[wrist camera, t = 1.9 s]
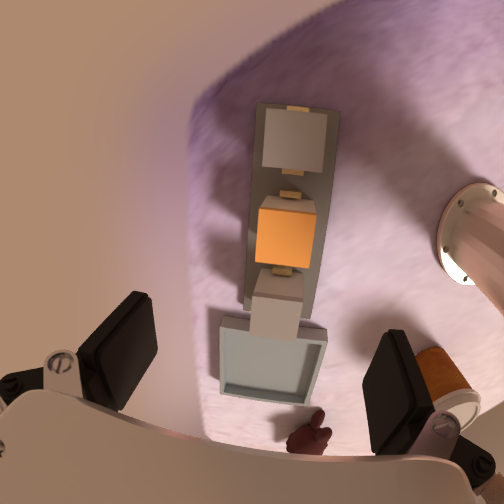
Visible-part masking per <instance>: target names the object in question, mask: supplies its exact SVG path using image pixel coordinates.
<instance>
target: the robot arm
mask: <svg viewBox="0 0 504 504" xmlns="http://www.w3.org/2000/svg"><path fill="white" fill-rule="evenodd" d="M437 251H438V257H439V260H440V263H441V265H442V267H443V269H444V270H445V271H446V273H447V274H448V275H449V276H450V277H451V278H452V279H453V280H454V281H456V282H458V283H460V284H465V285H476V286H477V287H478V288H479V289H480V290H481V291H482V292H483V293H484V294H485V296H486V297H487V298H488V299H489V300H490V301H491V302H492V303H493V304H494V306H495V307H496V308H497V309H498V310H499V311H500V313H501V314H502V315H503V316H504V193H503V192H502V191H501V190H500V189H498V188H497V187H495V186H493V185H490V184H487V183H473V184H470V185H468V186H466V187H464V188H463V189H461V190H460V191H458V193H457V194H456V195H455V196H454V197H453V198H452V199H451V200H450V202H449V203H448V205H447V206H446V208H445V210H444V213H443V215H442V217H441V220H440V223H439V227H438V233H437ZM157 350H158V346H157V339H156V332H155V324H154V317H153V308H152V300H151V298H149V297H148V294H146V293H143V292H138V291H133V292H132V293H131V294H130V295H129V296H128V297H127V298H126V299H125V300H124V301H123V302H122V303H121V304H120V305H119V306H118V307H117V308H116V309H115V310H114V311H113V312H112V313H111V314H110V315H109V316H108V317H107V318H106V319H105V320H104V321H103V323H102V324H101V325H100V326H99V327H98V328H97V329H96V330H95V331H94V332H93V333H92V334H91V335H90V336H89V338H88V339H87V340H86V341H85V342H84V343H83V344H82V345H81V346H80V347H79V349H78V351H77V353H76V354H75V353H73V352H72V351H69V350H58V351H55V352H53V353H51V354H50V355H49V356H48V357H47V358H46V360H45V361H44V367H41V368H37V369H31V370H26V371H20V372H15V373H10V374H7V375H6V376H4V377H3V378H2V379H1V380H0V504H504V477H503V476H502V475H501V473H500V472H498V473H497V474H496V473H495V468H496V465H495V461H494V458H493V457H492V455H491V454H489V453H488V452H487V451H485V450H483V449H482V448H480V447H479V446H477V445H475V444H474V443H472V442H470V441H469V440H467V439H465V438H464V437H462V436H461V435H460V431H461V425H460V422H459V420H458V419H457V417H456V416H455V415H453V414H452V413H451V412H448V411H444V410H439V411H435V408H434V405H433V402H432V399H431V396H430V394H429V391H428V388H427V385H426V383H425V380H424V377H423V375H422V372H421V370H420V367H419V365H418V363H417V361H416V358H415V356H414V353H413V351H412V349H411V346H410V344H409V342H408V339H407V337H406V335H405V332H404V331H403V330H396V329H389V330H388V332H385V333H384V334H383V336H382V338H381V341H380V343H379V346H378V348H377V350H376V353H375V355H374V357H373V359H372V362H371V364H370V366H369V368H368V370H367V373H366V375H365V377H364V379H363V383H362V388H363V394H364V400H365V406H366V413H367V420H368V427H369V435H370V443H371V450H372V452H373V453H375V455H376V456H324V455H306V454H293V453H283V452H274V451H267V450H259V449H253V448H246V447H241V446H235V445H230V444H225V443H220V442H215V441H211V440H206V439H202V438H198V437H194V436H190V435H186V434H182V433H179V432H175V431H172V430H168V429H165V428H162V427H159V426H156V425H152V424H149V423H146V422H144V421H141V420H138V419H135V418H132V417H129V416H126V415H124V414H121V413H118V410H122V409H123V408H124V406H125V405H126V403H127V401H128V400H129V398H130V397H131V395H132V393H133V391H134V390H135V388H136V386H137V385H138V383H139V382H140V380H141V378H142V377H143V375H144V374H145V372H146V370H147V369H148V367H149V365H150V364H151V362H152V361H153V359H154V357H155V356H156V354H157Z"/></svg>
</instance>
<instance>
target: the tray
mask: <svg viewBox="0 0 504 504" xmlns="http://www.w3.org/2000/svg"><path fill="white" fill-rule="evenodd" d="M249 331H250V320H248V319H241V318H235V317H229V316H224V318H223V320H222V322H221V325H220V394H223V395H229V396H234V397H239V398H245V399H251V400H258V401H264V402H272V403H279V404H288V405H297V406H308V403H309V400H310V397H311V395H312V392H313V389H314V385H315V382H316V379H317V376H318V373H319V370H320V367H321V363H322V360H323V357H324V353H325V350H326V346H327V343H328V337H327V329H317V328H308V327H300V326H299V327H298V332H297V337H296V342H294V341H286V340H278V339H271V338H264V337H257V336H250V335H249Z"/></svg>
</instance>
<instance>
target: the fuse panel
mask: <svg viewBox="0 0 504 504" xmlns="http://www.w3.org/2000/svg"><path fill="white" fill-rule="evenodd" d="M266 108H269V109H282V110H293V111H303V112H312V113H320V114H327V126H326V138H325V148H324V158H323V168H322V173H318V172H310V171H302V170H293V169H284V168H274V167H263V166H262V161H263V148H264V134H265V120H266ZM339 118H340V111H335V110H328V109H321V108H313V107H305V106H295V105H284V104H270V103H257V107H256V121H255V135H254V150H253V164H252V179H251V194H250V209H249V224H248V240H247V255H246V271H245V287H244V303H243V310H246V311H251V306H252V295H253V292H254V289H255V286H256V283H257V280H258V277H259V273H260V270H261V268H265V269H272V274H279V275H287V276H291V274H292V272H296V273H303V306H302V311H301V316H300V318H306V319H310V317H311V313H312V308H313V303H314V298H315V293H316V288H317V282H318V277H319V272H320V266H321V260H322V254H323V248H324V242H325V236H326V230H327V223H328V216H329V209H330V202H331V194H332V187H333V178H334V170H335V161H336V151H337V141H338V130H339ZM267 195H271V196H280V197H288V198H296V199H306V200H314V205H315V210H316V214H317V218H316V225H315V232H314V239H313V246H312V252H311V259H310V265H309V268H301V267H293V266H285V265H277V264H269V263H261V262H255V254H256V241H257V228H258V215H259V208H260V206H261V205H262V203H263V201H264V200H265V198H266V197H267Z"/></svg>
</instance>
